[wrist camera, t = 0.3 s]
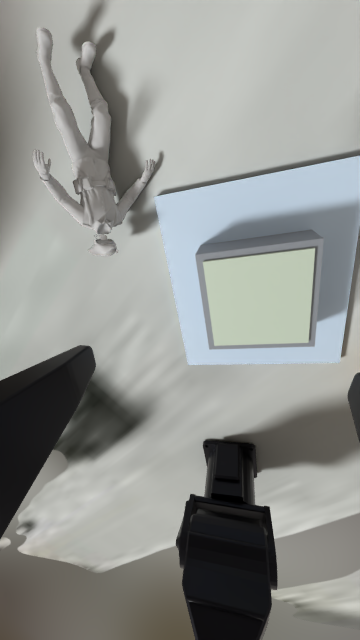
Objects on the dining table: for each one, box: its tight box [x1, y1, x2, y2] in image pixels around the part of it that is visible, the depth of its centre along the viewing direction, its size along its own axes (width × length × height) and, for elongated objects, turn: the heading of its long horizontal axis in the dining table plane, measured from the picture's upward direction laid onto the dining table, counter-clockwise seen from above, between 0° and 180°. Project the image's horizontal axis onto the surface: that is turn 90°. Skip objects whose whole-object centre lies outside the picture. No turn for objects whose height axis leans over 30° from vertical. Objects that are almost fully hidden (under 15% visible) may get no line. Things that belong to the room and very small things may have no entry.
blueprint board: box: [154, 156, 360, 365], centre depth 21 cm, size 16×14×1 cm
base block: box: [195, 230, 324, 350], centre depth 19 cm, size 8×8×3 cm
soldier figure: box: [33, 27, 155, 256], centre depth 17 cm, size 8×5×12 cm
